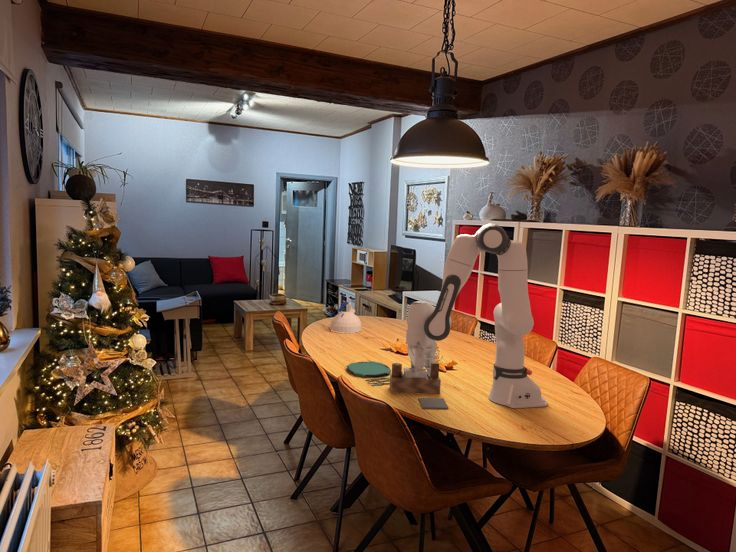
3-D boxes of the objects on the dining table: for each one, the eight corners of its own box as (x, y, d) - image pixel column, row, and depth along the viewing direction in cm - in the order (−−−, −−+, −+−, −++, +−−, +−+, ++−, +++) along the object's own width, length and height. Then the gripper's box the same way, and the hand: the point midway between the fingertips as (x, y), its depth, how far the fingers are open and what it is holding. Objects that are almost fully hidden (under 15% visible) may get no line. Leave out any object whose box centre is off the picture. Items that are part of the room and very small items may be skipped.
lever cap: (425, 375, 211) (425, 366, 210) (426, 378, 206) (427, 369, 206) (403, 374, 210) (404, 365, 210) (405, 378, 206) (405, 369, 205)
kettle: (367, 329, 321) (368, 301, 318) (353, 335, 302) (354, 306, 300) (339, 325, 329) (340, 298, 327) (323, 331, 310) (324, 302, 308)
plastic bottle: (425, 373, 233) (427, 331, 230) (438, 376, 229) (440, 333, 226) (417, 376, 228) (419, 333, 226) (430, 379, 224) (432, 335, 221)
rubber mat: (443, 399, 199) (443, 398, 199) (448, 409, 190) (448, 407, 190) (418, 399, 199) (418, 397, 199) (422, 408, 189) (422, 407, 189)
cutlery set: (379, 363, 246) (380, 359, 245) (406, 384, 218) (407, 379, 218) (341, 367, 238) (341, 362, 238) (364, 389, 211) (364, 384, 210)
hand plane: (436, 388, 213) (438, 360, 211) (439, 393, 206) (441, 365, 205) (389, 387, 212) (390, 359, 210) (391, 393, 205) (392, 364, 203)
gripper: (428, 346, 196) (426, 380, 198) (420, 334, 216) (418, 365, 218) (412, 346, 196) (410, 380, 197) (405, 333, 216) (404, 365, 218)
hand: (414, 372), depth 208 cm, fingers open, 8 cm apart
